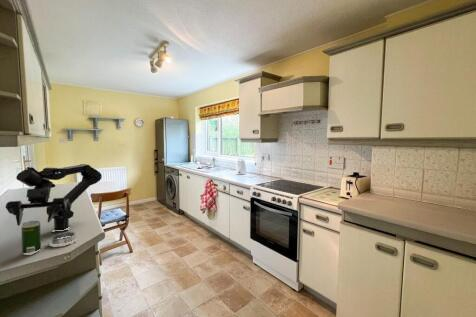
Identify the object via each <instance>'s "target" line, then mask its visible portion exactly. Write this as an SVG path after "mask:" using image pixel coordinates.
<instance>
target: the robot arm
mask: <svg viewBox="0 0 476 317" xmlns="http://www.w3.org/2000/svg"><path fill="white" fill-rule="evenodd" d="M79 173H80V175H81V176H82V177H81V181H80V182H79V183H77V184H76V185H75V186H74V187H73V188H72V189H70V191H69V192H68V193H67V194H65V195H64V196H63V197H54V198H53V199H52V201H49V199H50V195H51V189H52V188H55V187H56V184H55V183H53V181H59V180H61V179H64V178H65V177H66V176H67V177H68V176H69V175H74V174H79ZM102 177H103V176H102V174H101V172H100V171H98V169H96V168H94V167H93V166H91V165H90V164H88V163H87V164H86V163H80V164H77V165H72V166H64V167H44V168H42V170H41V171H38V170H37V169H35V167H33V166H28V167H27V168H26V169H24V170H21V171H20V172H18V174H17V175H16V177H15V178H16V180H17V181H19V182H21V184H24V185H26V186H27V187H30V188H28V189H27V190H26V198H27V201H28V202H26V203H23V202H22V200H15V201H13V200H12V201H11V200H10V201H8V202H6V204H5V209H6V210H7V212H8V213H9V214H10V215H13V216H15V220H16V225H17V226H18V227H19V226H20V225H21V224H22V220H23V216H24V210H25V209H32V208H34V209H35V208H36V209H37V208H46V215H47V223H50V222H51V221H52V220H53V229H55V230H64V229H66V228H68V227H69V226H70V223H69V222H70V220H69V219H71V218H73V217H74V214H75V213H74V211H73V210H72V209H71V208H72V204H73V203H74V202H75V201H76V200H77V199H78V198H79V197H81V195H82V194H83V193H84V192H86V190H87V189H89V187H91V186H93V185H95V184H97V183H99V182H100V181H101V180H102ZM31 187H32V188H31Z"/></svg>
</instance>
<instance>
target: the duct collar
mask: <svg viewBox="0 0 476 317" xmlns="http://www.w3.org/2000/svg"><path fill="white" fill-rule="evenodd" d="M66 236H71V237H67V238H63V239H57V238H61V237H66ZM76 237H77V232H75V231H63V232H58V233H57V234H54V235H52V236H51V237H50V242H51V243H52V244H60V243H67V242H70V241H72V240H74V239H75V238H76Z"/></svg>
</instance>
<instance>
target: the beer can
mask: <svg viewBox="0 0 476 317" xmlns="http://www.w3.org/2000/svg"><path fill="white" fill-rule="evenodd" d="M20 230H21V253H31V252H34V251H37V250H39V249H41V250H42V242H41V241H42V239H41V238H42V236H41V222H40V220H31V221H25V222H23V223H21V227H20Z"/></svg>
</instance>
